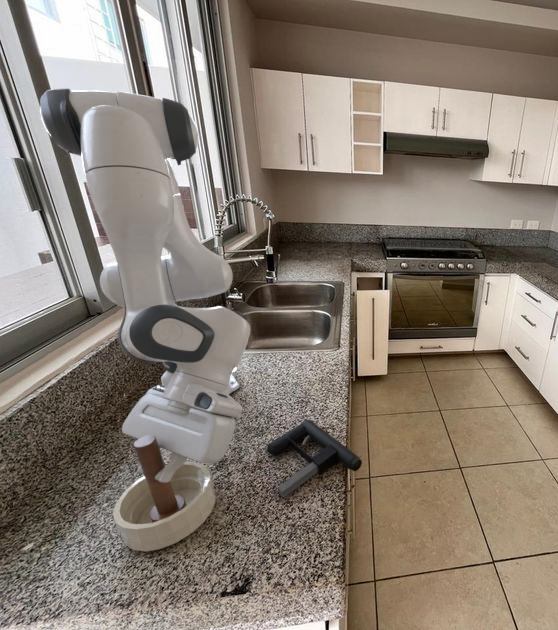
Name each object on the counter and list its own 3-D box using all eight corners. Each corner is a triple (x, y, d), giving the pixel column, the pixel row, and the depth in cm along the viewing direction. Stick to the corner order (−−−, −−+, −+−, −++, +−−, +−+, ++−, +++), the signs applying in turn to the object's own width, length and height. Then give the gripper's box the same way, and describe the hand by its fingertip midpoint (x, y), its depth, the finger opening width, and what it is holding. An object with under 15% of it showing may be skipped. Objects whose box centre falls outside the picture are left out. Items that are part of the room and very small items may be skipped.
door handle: (298, 507, 61) (366, 452, 72) (246, 452, 73) (311, 412, 84) (301, 519, 62) (367, 464, 74) (249, 463, 74) (313, 423, 85)
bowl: (131, 502, 64) (122, 478, 62) (215, 474, 70) (209, 451, 68) (116, 570, 53) (104, 544, 51) (217, 530, 59) (210, 505, 57)
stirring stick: (153, 508, 61) (127, 436, 55) (187, 496, 63) (165, 426, 57) (150, 531, 57) (121, 457, 51) (186, 518, 59) (162, 445, 53)
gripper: (137, 378, 61) (91, 458, 56) (224, 404, 55) (180, 497, 50) (168, 386, 67) (128, 460, 62) (250, 410, 61) (213, 495, 56)
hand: (152, 477), depth 56 cm, fingers closed on stirring stick, 3 cm apart
